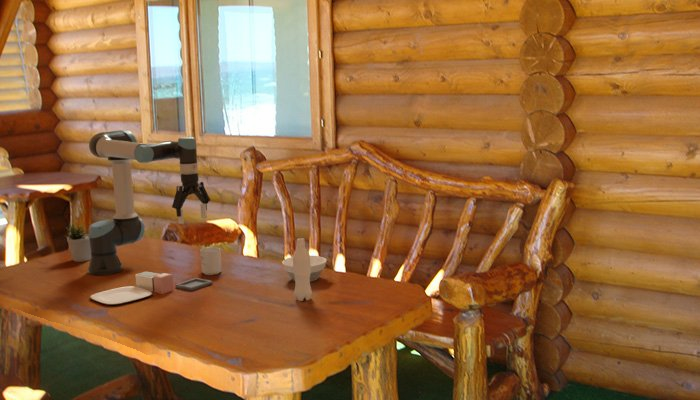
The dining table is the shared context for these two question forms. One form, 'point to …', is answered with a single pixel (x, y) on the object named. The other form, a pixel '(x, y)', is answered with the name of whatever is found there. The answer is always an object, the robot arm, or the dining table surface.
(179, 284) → the stub tray
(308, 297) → the water bottle
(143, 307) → the dining table surface
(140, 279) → the grey-panelled beige block
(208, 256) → the mug
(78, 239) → the potted plant
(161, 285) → the stub
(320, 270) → the bowl
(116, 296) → the plate
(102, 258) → the robot arm
